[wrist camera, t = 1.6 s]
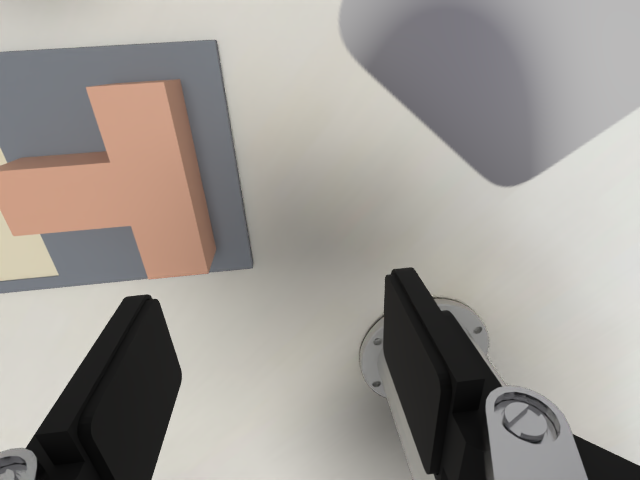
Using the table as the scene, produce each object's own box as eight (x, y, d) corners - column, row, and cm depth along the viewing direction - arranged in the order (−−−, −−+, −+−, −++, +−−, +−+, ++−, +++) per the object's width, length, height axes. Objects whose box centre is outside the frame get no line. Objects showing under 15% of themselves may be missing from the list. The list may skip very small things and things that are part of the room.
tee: (216, 249, 27) (208, 273, 24) (68, 263, 27) (40, 290, 24) (180, 78, 22) (163, 82, 19) (-8, 91, 21) (-57, 96, 18)
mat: (253, 264, 29) (252, 268, 28) (-144, 303, 27) (-152, 308, 26) (216, 40, 22) (214, 39, 21) (-330, 71, 20) (-346, 71, 19)
